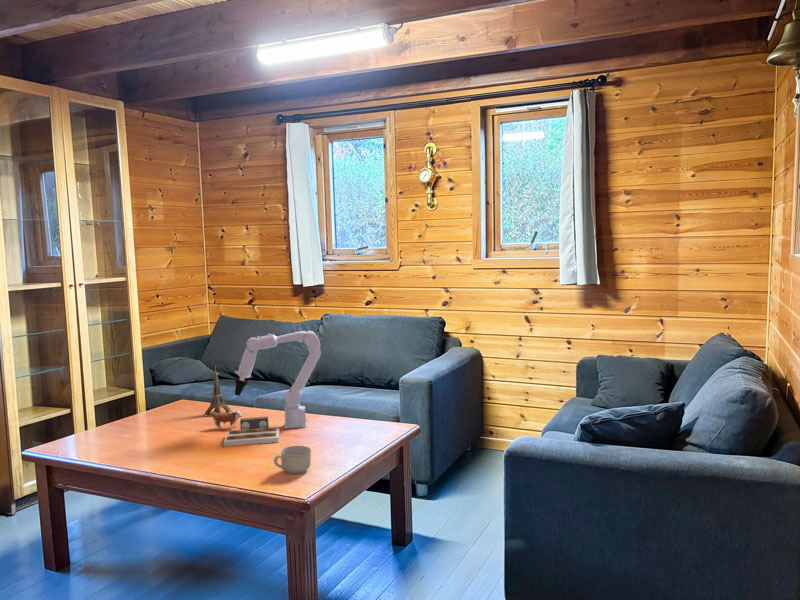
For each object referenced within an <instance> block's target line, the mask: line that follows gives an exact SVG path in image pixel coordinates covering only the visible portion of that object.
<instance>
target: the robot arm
mask: <svg viewBox="0 0 800 600" xmlns="http://www.w3.org/2000/svg"><path fill="white" fill-rule="evenodd" d="M291 342H299V343H301V344H303V343H304V345H305V346H306V347H307V350H308V352H309V354H308V355H307V358H306V359H305V362H304V363H303V365H302V367H301V369H300V371H299V373H298V375H297V377H296V379H295V381H294V382H293V384H292V385H291V387H290V388H289V390H287V392H285V394H284V400H285V405H284V406H283V407H284V426H283V427H284V430H285V429H296V428H297V429H298V428H306V426H307V418H306V406H305V405H301V397H302V395H303V394H302V393H303V391H304V388H305V386H306V384H307V382H308V381H309V378H310V377H311V374H312V373H313V371H314V369H315V367H316V365H317V363H318V361H319V359H320V357H321V354H322V352H321V342H320V339H319V337H318V335H317V334H316V332H315V331H312V330H307V331H305V330H302V331H301V330H300V331H295V332H291V333H287V334H282V335H279V336H276V334H271V333H267V335H263V336H259V335H256V337H250V338H249V339H247V341H246V347H245V349H244V351H243V355H242V356H241V360H240V363H239V366H238V370H235V371H234V374H237V375H236V377H235V378H234V382H235V389H234V395H235V396H238V397H240V395H241V394H242V392H243V390H244V388H245V387H246V385H247V384H248V383H249V380H250V378H251V377H252V372H253V368H254V365H255V363H256V359H257V353H258V351H259V350H266V349H272V348H276V347H277V346H278V344H282V343H283V344H285V343H291Z"/></svg>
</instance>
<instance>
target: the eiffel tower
mask: <svg viewBox="0 0 800 600" xmlns="http://www.w3.org/2000/svg"><path fill="white" fill-rule="evenodd" d="M214 365H215V366H214V368H215V369H214V370H215V371H214V372H213V373H212V376H213V387H212V388H213V390H212V394H211V397H212V398H211V401H210V403H209V406H208V408H207V409H206V410H205V412H204V414H203V415H207V416H206V417H209V416H211V415H210V414H211V412H213V411H214V412H213V413H222V410H221V408H223V410H224V411H225V413H229V412H232V411H233V410H231V408H230V407H229V406H228V405H227V404H226V401H224V398H223V393H222V391H221V387H220V382H219V381H220V380H219V372H217V366H216V364H214ZM208 415H209V416H208Z"/></svg>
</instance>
